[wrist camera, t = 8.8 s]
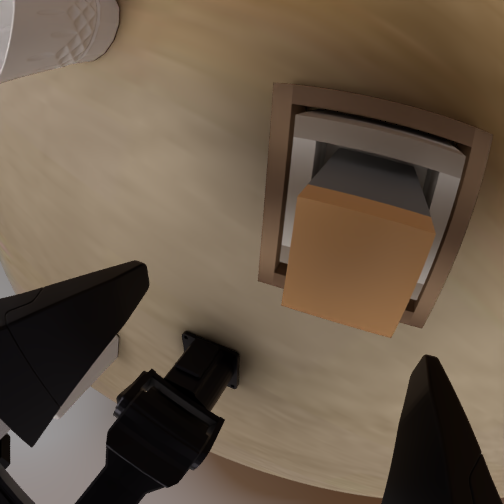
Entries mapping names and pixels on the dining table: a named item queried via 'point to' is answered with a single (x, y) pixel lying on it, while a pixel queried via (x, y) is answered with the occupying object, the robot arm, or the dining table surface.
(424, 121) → the walled box
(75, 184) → the dining table surface
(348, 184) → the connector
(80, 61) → the white cup
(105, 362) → the milk carton
